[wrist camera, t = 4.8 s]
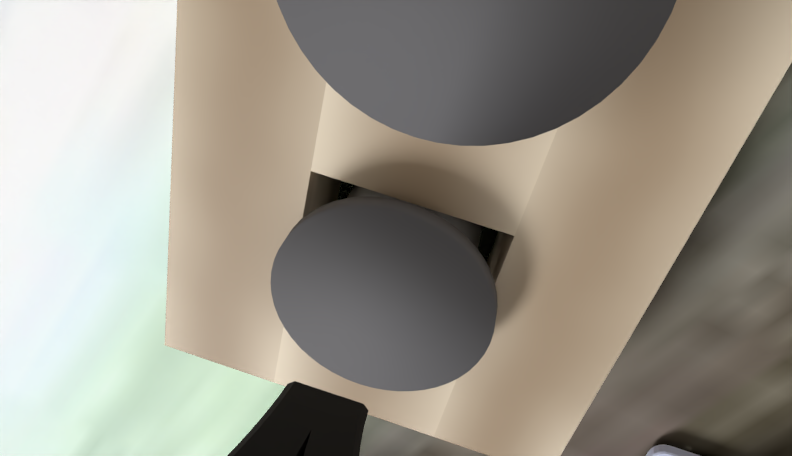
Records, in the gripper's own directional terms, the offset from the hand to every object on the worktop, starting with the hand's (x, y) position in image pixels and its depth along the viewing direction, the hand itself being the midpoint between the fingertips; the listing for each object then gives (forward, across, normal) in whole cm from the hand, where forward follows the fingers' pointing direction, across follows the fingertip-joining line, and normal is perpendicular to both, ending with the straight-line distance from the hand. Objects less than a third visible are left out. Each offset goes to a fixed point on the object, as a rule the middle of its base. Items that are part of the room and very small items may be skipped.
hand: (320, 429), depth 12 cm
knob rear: (+10, 0, +1) cm, 10 cm away
